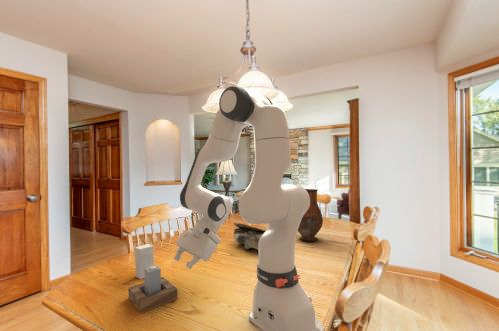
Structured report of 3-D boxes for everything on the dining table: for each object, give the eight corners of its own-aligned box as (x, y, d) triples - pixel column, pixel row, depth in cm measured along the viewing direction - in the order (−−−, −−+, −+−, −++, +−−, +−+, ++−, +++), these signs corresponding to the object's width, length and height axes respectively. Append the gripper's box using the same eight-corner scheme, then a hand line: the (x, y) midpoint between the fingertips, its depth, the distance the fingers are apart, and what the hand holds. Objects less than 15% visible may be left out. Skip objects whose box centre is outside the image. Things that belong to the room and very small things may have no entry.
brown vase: (328, 240, 146) (328, 189, 146) (305, 248, 133) (305, 192, 133) (306, 233, 159) (306, 187, 159) (282, 240, 146) (282, 189, 146)
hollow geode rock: (235, 249, 144) (220, 234, 137) (246, 231, 151) (232, 216, 144) (270, 262, 124) (255, 245, 117) (282, 240, 130) (268, 223, 123)
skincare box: (148, 271, 106) (148, 243, 105) (154, 274, 103) (153, 245, 103) (134, 276, 101) (134, 247, 101) (139, 279, 98) (139, 249, 98)
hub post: (160, 295, 84) (160, 267, 84) (148, 299, 82) (148, 271, 82) (156, 290, 87) (156, 264, 87) (144, 294, 85) (144, 267, 85)
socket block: (177, 298, 84) (177, 288, 84) (140, 313, 76) (140, 302, 76) (162, 285, 93) (162, 276, 93) (128, 297, 85) (128, 287, 85)
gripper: (185, 222, 104) (163, 251, 98) (214, 232, 89) (190, 267, 83) (195, 231, 107) (174, 260, 101) (224, 242, 92) (201, 276, 86)
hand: (181, 263), depth 92 cm, fingers open, 8 cm apart
